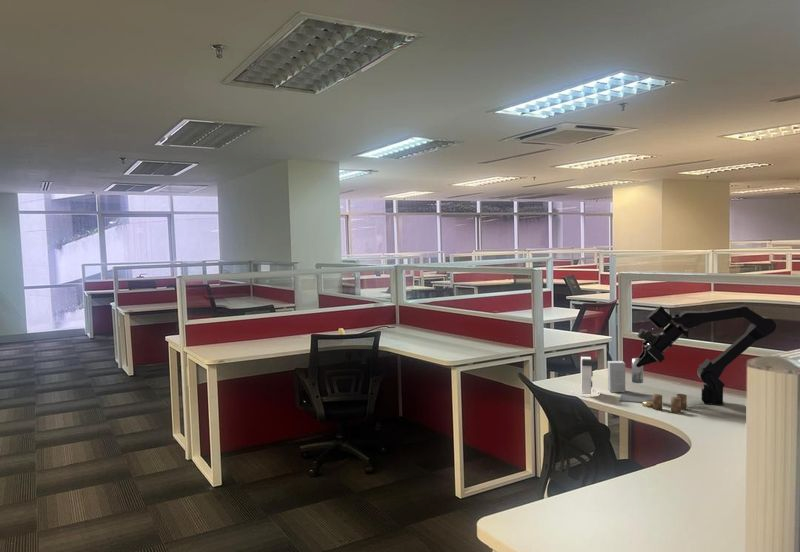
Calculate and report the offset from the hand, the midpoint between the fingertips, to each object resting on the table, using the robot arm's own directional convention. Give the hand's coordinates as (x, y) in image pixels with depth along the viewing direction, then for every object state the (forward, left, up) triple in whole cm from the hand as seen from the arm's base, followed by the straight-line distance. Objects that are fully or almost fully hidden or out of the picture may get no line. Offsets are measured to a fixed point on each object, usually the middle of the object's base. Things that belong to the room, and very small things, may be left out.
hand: (636, 365), depth 221 cm
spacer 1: (-7, +12, -13) cm, 19 cm away
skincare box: (+8, -9, -13) cm, 18 cm away
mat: (0, 0, -13) cm, 13 cm away
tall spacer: (0, 0, -7) cm, 7 cm away
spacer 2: (-13, +14, -13) cm, 23 cm away
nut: (-4, +9, -13) cm, 17 cm away
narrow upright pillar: (+19, -1, -13) cm, 23 cm away
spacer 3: (-15, +9, -13) cm, 22 cm away
